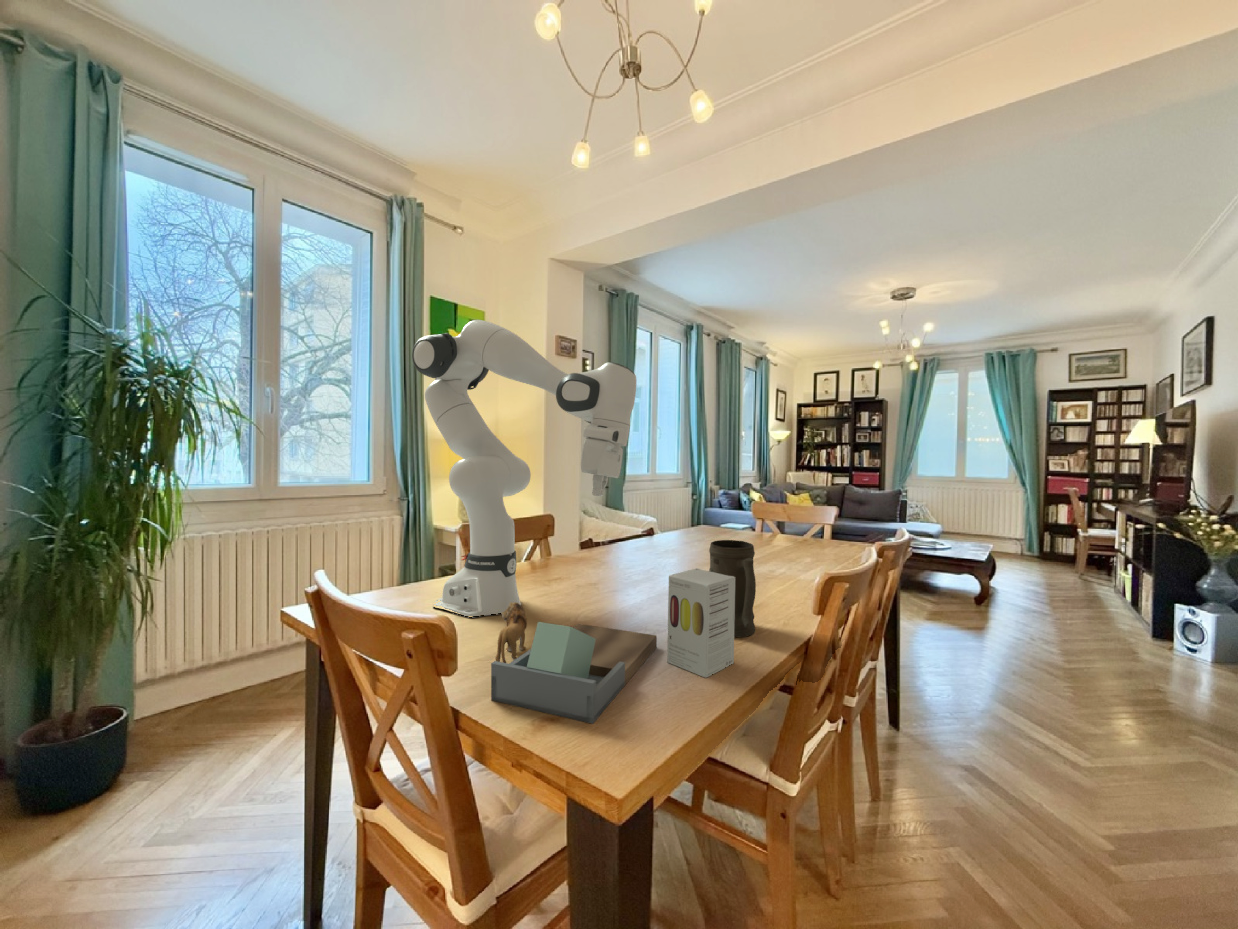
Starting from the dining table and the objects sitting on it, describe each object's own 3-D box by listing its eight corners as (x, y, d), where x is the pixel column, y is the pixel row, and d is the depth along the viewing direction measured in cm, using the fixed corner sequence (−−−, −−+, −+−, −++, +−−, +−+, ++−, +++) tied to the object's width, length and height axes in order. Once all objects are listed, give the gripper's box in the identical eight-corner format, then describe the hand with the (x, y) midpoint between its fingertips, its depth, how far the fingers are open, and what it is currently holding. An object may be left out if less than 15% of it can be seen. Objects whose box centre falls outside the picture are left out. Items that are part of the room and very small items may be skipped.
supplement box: (665, 662, 95) (666, 574, 94) (694, 649, 101) (695, 567, 101) (707, 679, 88) (708, 584, 87) (735, 663, 94) (736, 575, 94)
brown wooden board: (534, 668, 92) (534, 654, 92) (577, 635, 109) (578, 623, 108) (624, 685, 85) (624, 671, 85) (656, 647, 102) (656, 635, 102)
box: (491, 700, 80) (491, 663, 80) (534, 668, 92) (534, 635, 92) (592, 723, 73) (593, 683, 73) (624, 685, 85) (625, 650, 85)
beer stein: (695, 623, 116) (699, 539, 114) (733, 617, 120) (738, 536, 119) (735, 652, 102) (740, 557, 100) (777, 644, 106) (782, 553, 105)
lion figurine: (502, 642, 104) (502, 600, 104) (527, 641, 105) (527, 599, 104) (492, 674, 89) (492, 624, 89) (522, 672, 90) (522, 623, 90)
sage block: (556, 675, 87) (526, 667, 78) (565, 634, 90) (537, 621, 81) (587, 681, 85) (560, 673, 76) (595, 638, 88) (570, 626, 79)
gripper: (607, 438, 123) (597, 493, 122) (581, 426, 103) (569, 492, 103) (632, 442, 121) (621, 498, 121) (610, 431, 101) (597, 498, 101)
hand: (597, 495), depth 111 cm, fingers closed
